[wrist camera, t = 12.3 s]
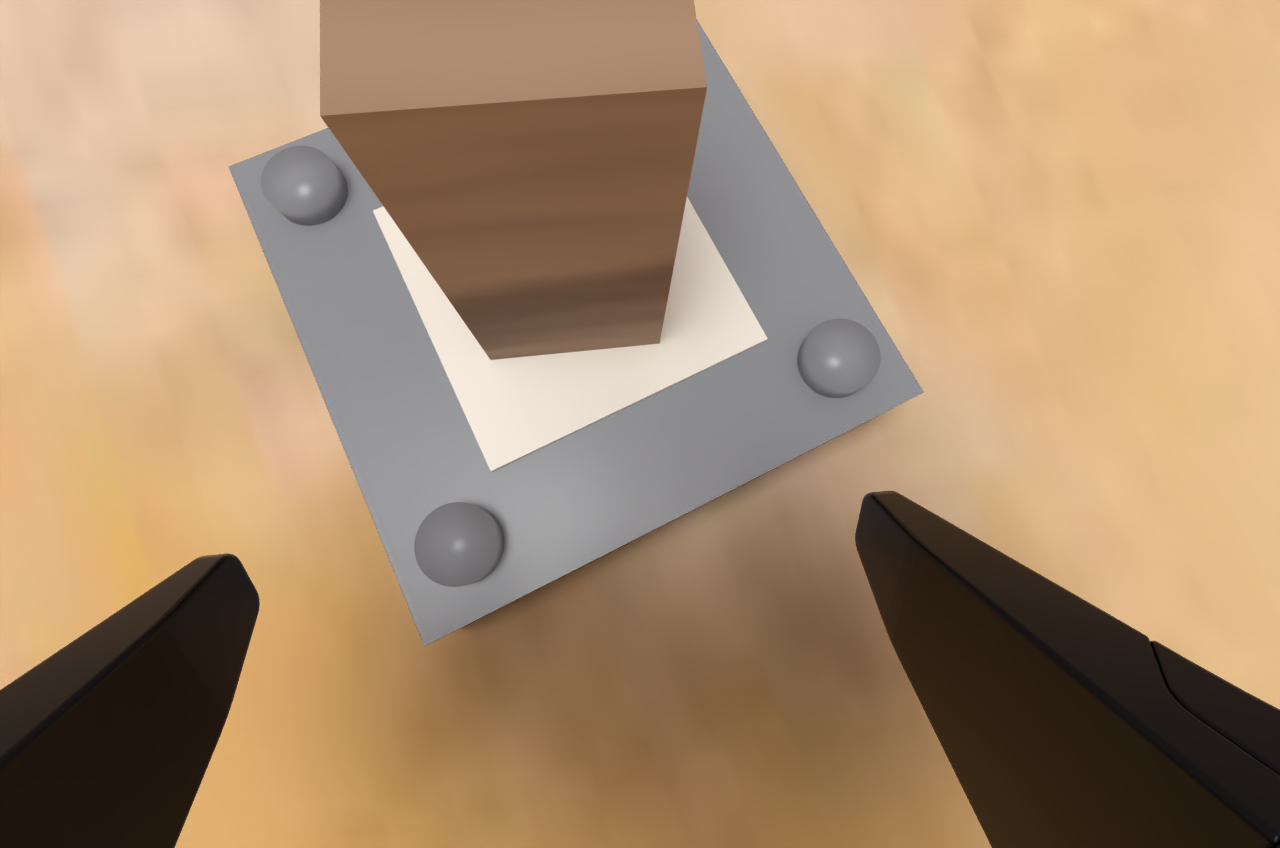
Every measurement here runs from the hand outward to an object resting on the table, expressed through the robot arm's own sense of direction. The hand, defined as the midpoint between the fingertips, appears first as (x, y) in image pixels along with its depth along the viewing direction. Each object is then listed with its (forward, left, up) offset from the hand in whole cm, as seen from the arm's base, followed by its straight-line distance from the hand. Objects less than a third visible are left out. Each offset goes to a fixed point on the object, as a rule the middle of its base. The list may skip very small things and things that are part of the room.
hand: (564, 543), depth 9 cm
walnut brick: (+8, -3, -8) cm, 11 cm away
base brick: (+8, -3, -12) cm, 14 cm away
